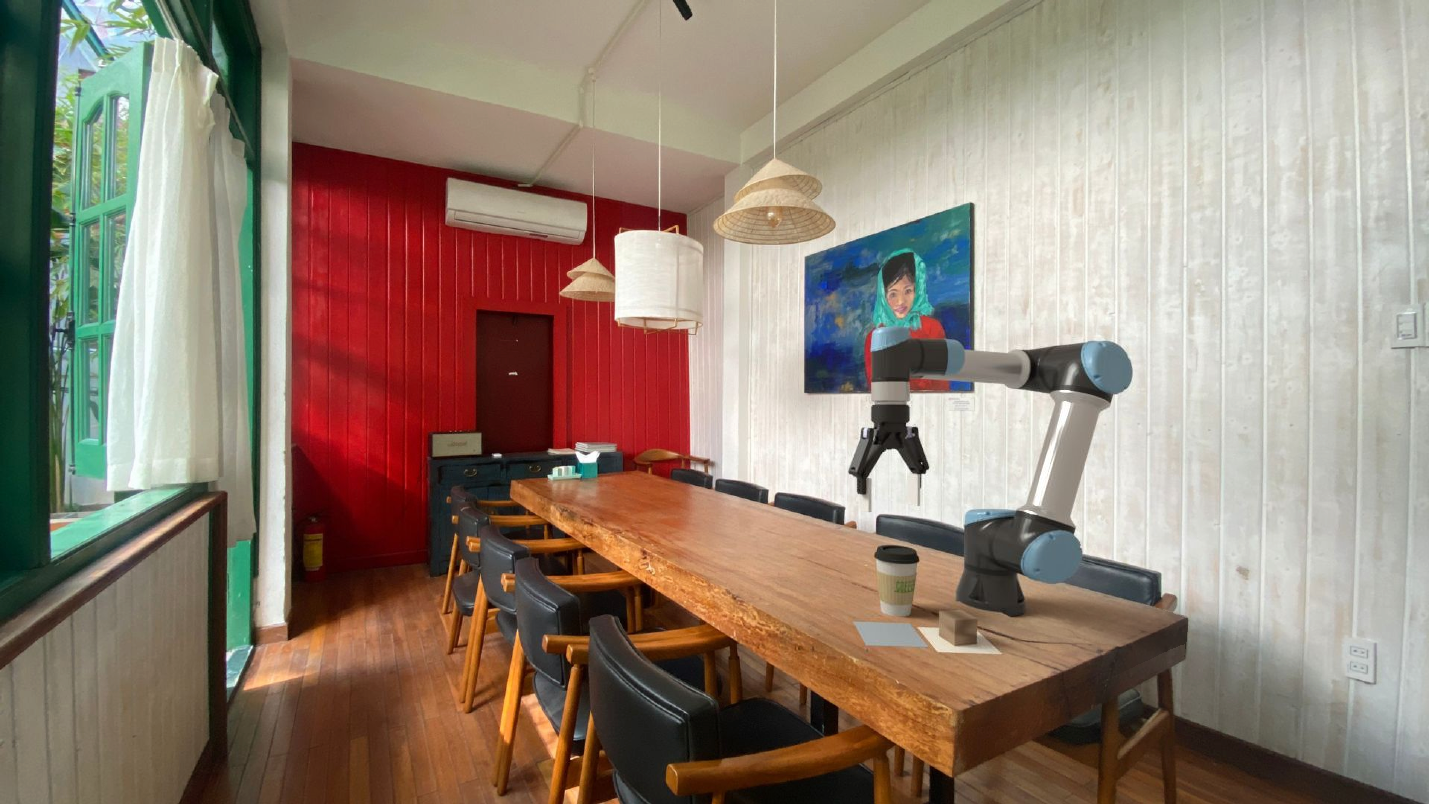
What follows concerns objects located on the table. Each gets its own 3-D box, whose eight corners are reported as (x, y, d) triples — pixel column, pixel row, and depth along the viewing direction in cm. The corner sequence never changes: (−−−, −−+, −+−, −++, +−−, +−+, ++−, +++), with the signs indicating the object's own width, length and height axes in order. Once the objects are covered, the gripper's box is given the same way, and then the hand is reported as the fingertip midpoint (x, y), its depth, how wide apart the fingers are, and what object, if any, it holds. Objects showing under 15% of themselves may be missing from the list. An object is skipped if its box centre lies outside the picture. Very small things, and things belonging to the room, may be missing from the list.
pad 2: (975, 633, 119) (975, 629, 119) (1002, 659, 107) (1002, 654, 107) (917, 631, 120) (917, 627, 120) (937, 657, 108) (937, 651, 108)
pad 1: (909, 628, 122) (909, 623, 122) (928, 652, 110) (928, 647, 110) (853, 626, 122) (853, 621, 122) (866, 650, 110) (866, 645, 110)
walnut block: (960, 634, 116) (960, 609, 116) (976, 644, 111) (977, 618, 112) (938, 635, 115) (939, 611, 115) (954, 646, 110) (954, 620, 110)
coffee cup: (921, 626, 123) (923, 556, 123) (874, 621, 125) (875, 553, 125) (915, 610, 132) (916, 545, 133) (871, 606, 134) (872, 543, 134)
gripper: (918, 403, 125) (918, 500, 125) (830, 403, 113) (830, 510, 113) (947, 403, 118) (947, 505, 118) (856, 403, 106) (856, 516, 106)
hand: (890, 508), depth 115 cm, fingers open, 13 cm apart
